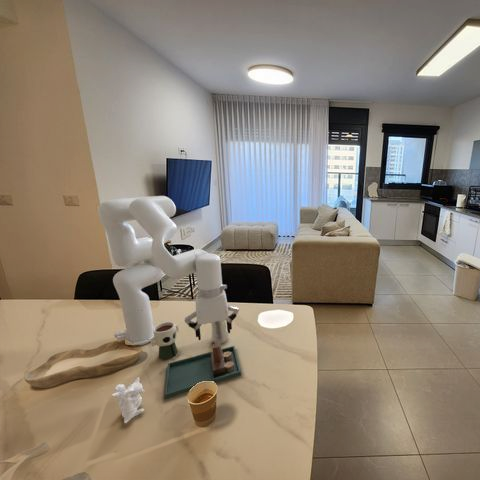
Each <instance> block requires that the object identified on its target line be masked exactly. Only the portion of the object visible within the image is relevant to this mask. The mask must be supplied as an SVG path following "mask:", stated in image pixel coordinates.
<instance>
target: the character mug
mask: <svg viewBox="0 0 480 480" xmlns="http://www.w3.org/2000/svg"><path fill="white" fill-rule="evenodd" d="M179 331H180V327H179V324H178V323H174V322H173V321H164V322H161V323H158V324H157V325H154V329H153V333H154V337H153V338H151V342H150V346H151V347H155V346H157V347H158V359H160V360H162V361H168V360H171V359H173V358H174V357H176V356H177V355H178V351H179V350H178V348H177V345H176V340H177V339H178V334H177V333H179ZM173 356H174V357H173Z"/></svg>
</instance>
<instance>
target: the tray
mask: <svg viewBox="0 0 480 480" xmlns="http://www.w3.org/2000/svg"><path fill="white" fill-rule="evenodd" d="M221 350H222V352H223V354H224V353H225V352H227V351H229V352H231V355H232V358H231V360H229V361H224V363H225V364H226V363H227V362H233V363H234V369H233V371H231V372H226V374H225V375H221V376H218V377H215V378H214V375H213V367H212V358H211V353H212V352H213V350H212V351H209V352H205V353H201V354H197V355H194V356H190V357H187V358H182V359H179V360H175V361H172V362H168V363H167V368H166V377H165V384H164V385H165V386H164V399H165V400H167V399H170V398H173V397H176V396H180V395H182V394H186V393H189V392H190V391H189V390H190V389H191V388H192V387H193V386H195V385H196V384H197V383H199V382H202V381H214V382H215V383H214V384H217V383H221V382H224V381H227V380H230V379H233V378H236V377H239V376H242V370H241V367H240V363H239V358H238V355H237V351H236V347H235V345H231V346H228V347H224V348H221Z"/></svg>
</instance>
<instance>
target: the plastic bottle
mask: <svg viewBox="0 0 480 480" xmlns="http://www.w3.org/2000/svg"><path fill="white" fill-rule="evenodd" d="M210 324H211V341H212V343H214V344H215V343H220V345H221V344H224V343H226V342H227V341H228V339H229V333H228V330H227V323H226V320H221V321H217V322H212V323H210Z"/></svg>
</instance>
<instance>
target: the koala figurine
mask: <svg viewBox="0 0 480 480" xmlns="http://www.w3.org/2000/svg"><path fill="white" fill-rule="evenodd" d="M114 390H115V392H114V393H113V392H112V393H111V394H110V396H111V397H113V398H115V397H116V400H117V402H118V406H119V409H120V411H121V416H122V417H123V424H127V423H128V422H129V421H130V420H131V419H133V418H134V417H136V416H139V415H141V414H142V413H144V411H145V409H144V407H142V408H139V407H140V406H141V404H142V401H143V397H142V396H141V394H144V392H145V389H144V388H143V383H140V377H139V376H138V377H137V378H135V380H134V381H133V383H131V384H129V386H127V388H126V385H125V384H122V383H120V384H117V385H116V386H115V388H114ZM138 408H139V409H138Z"/></svg>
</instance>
